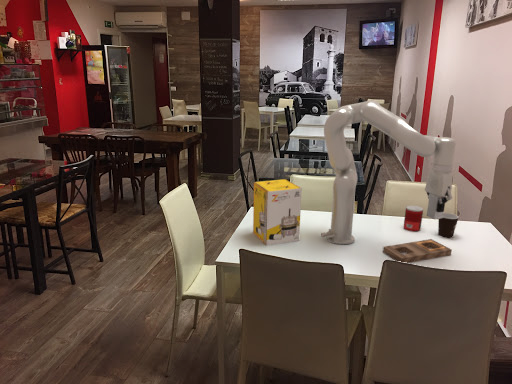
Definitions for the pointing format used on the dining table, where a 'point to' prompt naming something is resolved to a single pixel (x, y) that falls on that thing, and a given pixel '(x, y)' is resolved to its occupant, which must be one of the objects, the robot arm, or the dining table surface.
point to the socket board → (417, 251)
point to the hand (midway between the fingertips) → (435, 209)
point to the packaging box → (276, 211)
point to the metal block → (434, 207)
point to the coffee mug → (447, 225)
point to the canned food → (413, 218)
